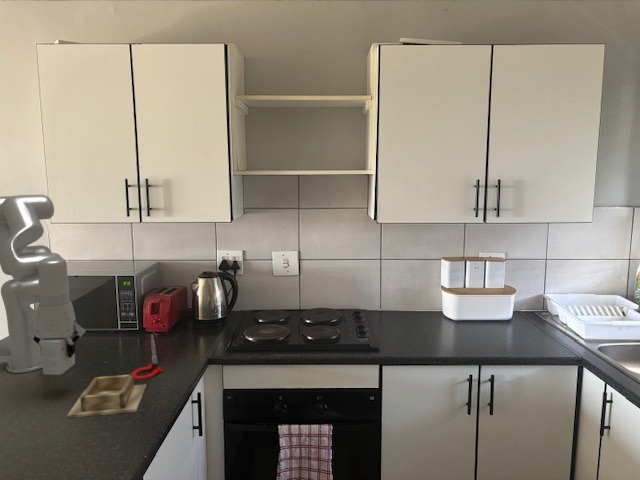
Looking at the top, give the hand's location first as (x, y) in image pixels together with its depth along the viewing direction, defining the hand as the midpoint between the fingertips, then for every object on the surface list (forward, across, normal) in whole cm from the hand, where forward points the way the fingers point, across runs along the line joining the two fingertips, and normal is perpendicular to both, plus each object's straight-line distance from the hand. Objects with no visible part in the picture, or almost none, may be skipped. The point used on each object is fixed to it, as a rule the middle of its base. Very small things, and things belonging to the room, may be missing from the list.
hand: (58, 355), depth 140 cm
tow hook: (+12, +23, +10) cm, 28 cm away
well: (+11, +16, -8) cm, 21 cm away
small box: (+4, 0, 0) cm, 4 cm away
